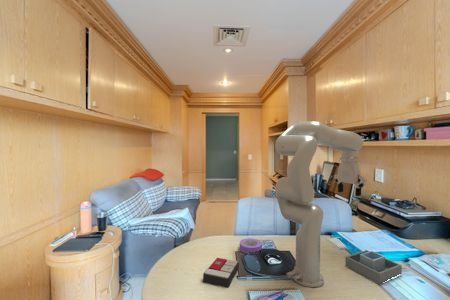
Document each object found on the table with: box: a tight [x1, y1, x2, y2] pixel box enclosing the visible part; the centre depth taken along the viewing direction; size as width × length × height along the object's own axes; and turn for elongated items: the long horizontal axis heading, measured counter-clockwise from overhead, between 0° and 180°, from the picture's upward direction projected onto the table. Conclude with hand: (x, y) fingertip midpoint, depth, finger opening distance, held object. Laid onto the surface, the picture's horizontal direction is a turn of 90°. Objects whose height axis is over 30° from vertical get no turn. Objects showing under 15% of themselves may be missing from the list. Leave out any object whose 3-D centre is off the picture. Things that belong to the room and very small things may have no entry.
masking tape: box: [239, 237, 263, 254], centre depth 119 cm, size 12×12×4 cm
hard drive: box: [326, 237, 347, 251], centre depth 125 cm, size 2×8×12 cm
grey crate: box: [344, 249, 403, 286], centre depth 99 cm, size 15×15×4 cm
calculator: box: [202, 257, 240, 289], centre depth 96 cm, size 11×4×15 cm
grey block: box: [360, 250, 386, 272], centre depth 99 cm, size 8×6×6 cm
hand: (349, 193), depth 115 cm, fingers open, 9 cm apart
